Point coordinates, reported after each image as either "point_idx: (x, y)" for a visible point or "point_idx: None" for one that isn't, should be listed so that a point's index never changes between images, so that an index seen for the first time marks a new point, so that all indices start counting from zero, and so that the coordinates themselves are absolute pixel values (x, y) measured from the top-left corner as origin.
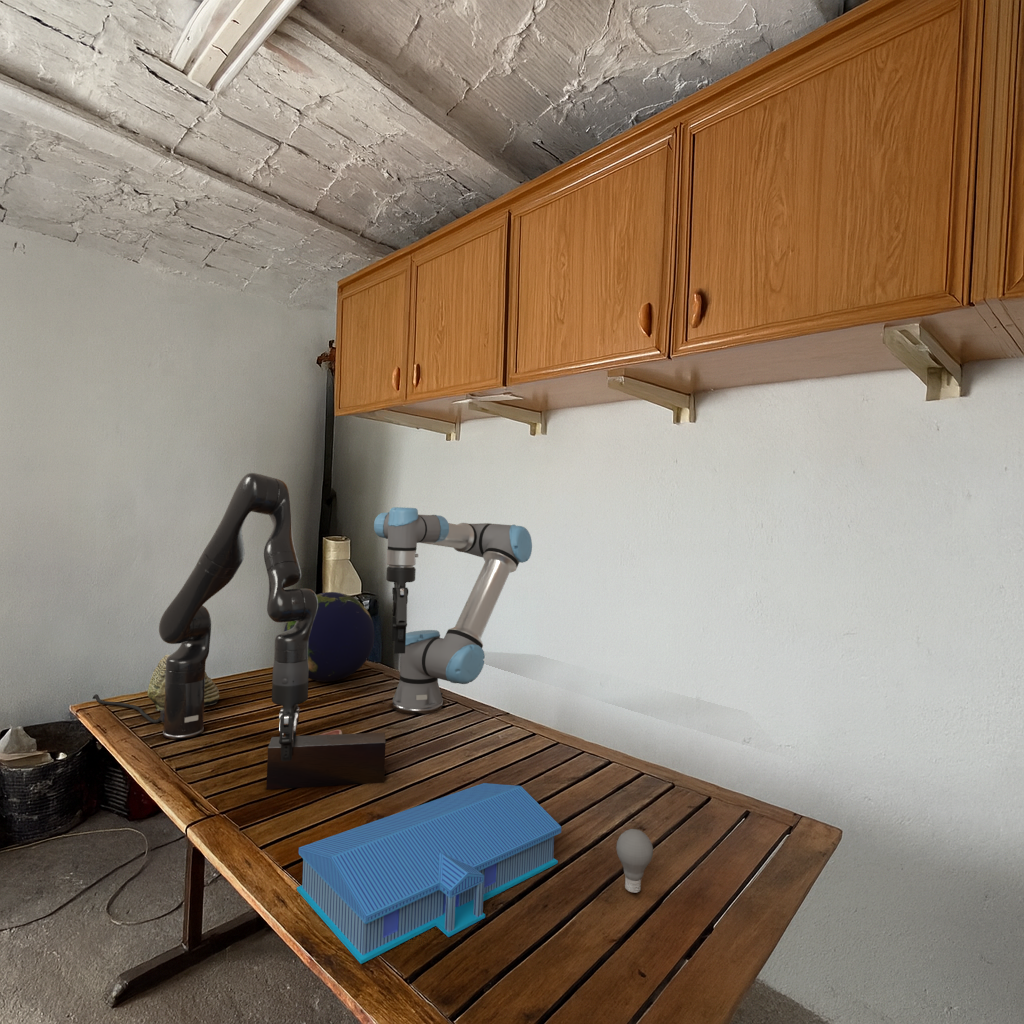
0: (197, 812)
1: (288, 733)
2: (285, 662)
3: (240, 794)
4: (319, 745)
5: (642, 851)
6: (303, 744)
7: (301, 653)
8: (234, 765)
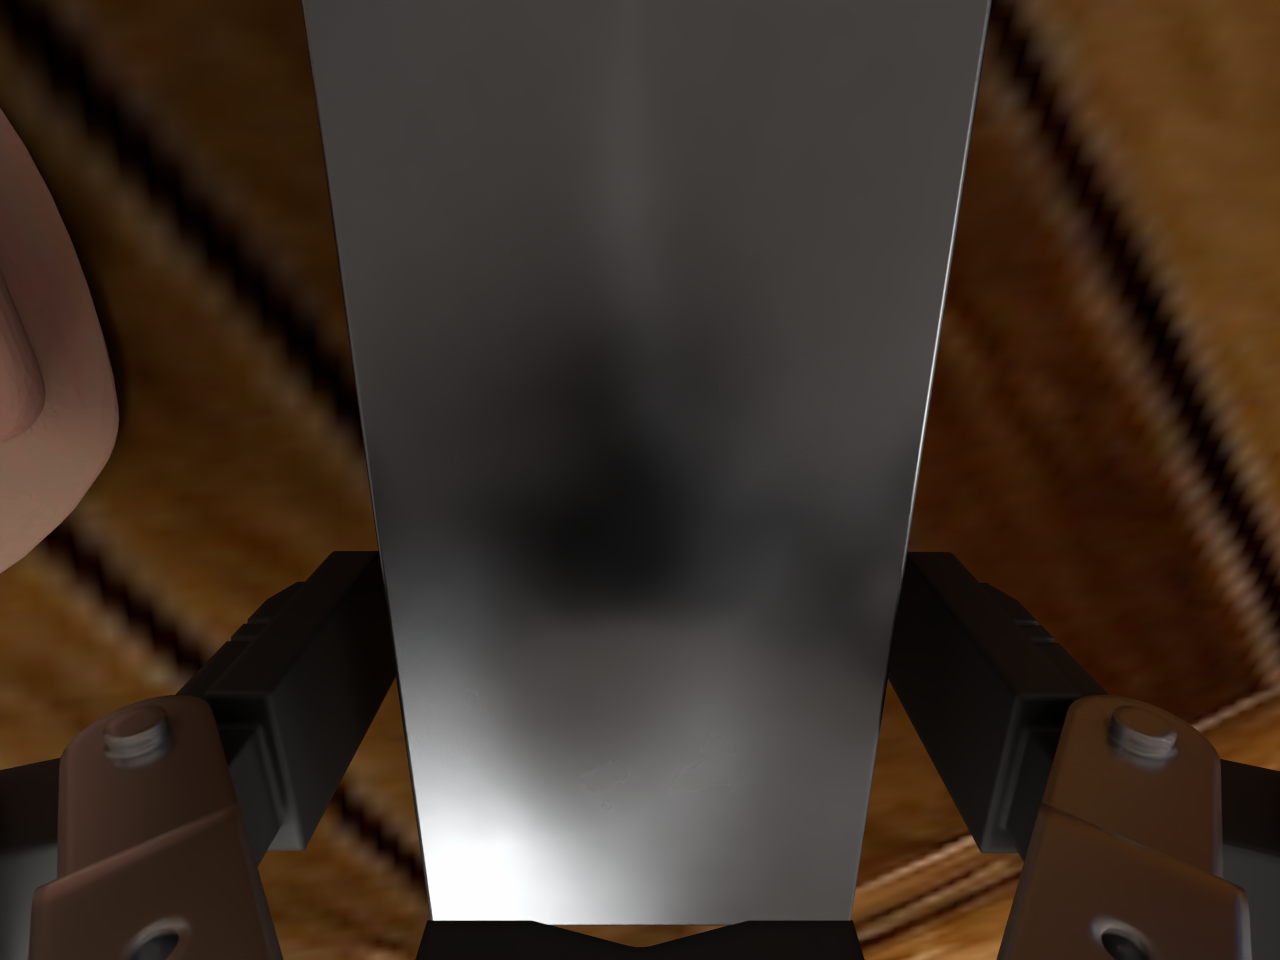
0: (978, 915)
1: (325, 755)
2: None
3: None
4: (973, 113)
5: None
6: (837, 460)
7: None
8: (295, 851)
